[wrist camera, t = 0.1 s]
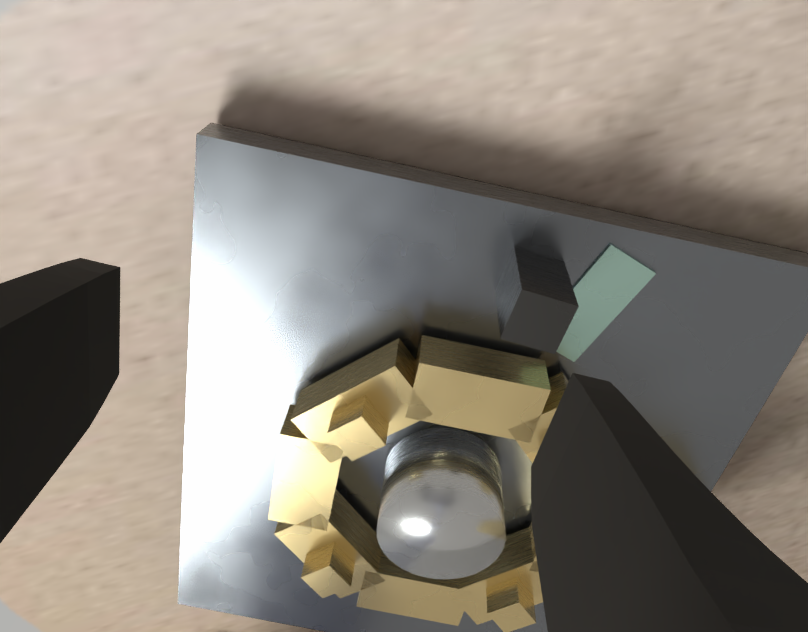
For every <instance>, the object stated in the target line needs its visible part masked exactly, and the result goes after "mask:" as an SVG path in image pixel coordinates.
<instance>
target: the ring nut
mask: <svg viewBox="0 0 808 632" xmlns="http://www.w3.org/2000/svg"><path fill="white" fill-rule="evenodd" d="M568 382H569V381H568V379H567V378H566V376H565V375H564V373H563V372H561V373H559V374H557V375H555V376H553V377H551V378H548V374H547V369H546V364H545V360H540V359H535V358H531V357H526V356H521V355H516V354H511V353H507V352H502V351H497V350H492V349H487V348H483V347H478V346H473V345H468V344H463V343H459V342H454V341H449V340H444V339H439V338H435V337H430V336H425V335H422V336H421V340H420V344H419V348H418V352H417V356H416V359H415V358H414V357H413V355H412V354H411V353H410V351H409V350H408V349H407V347H406V346H405V345H404V344H403V342H402V341H401V340H400V338H398V339H396V340H394V341H392V342H390V343H389V344H387V345H385V346H383V347H381V348H379V349H377V350H375V351H373V352H372V353H370V354H368V355H366V356H364V357H362V358H360V359H358V360H356V361H355V362H353V363H351V364H349V365H347V366H345V367H343V368H341V369H340V370H338V371H336V372H334V373H332V374H330V375H328V376H326V377H324V378H323V379H321V380H319V381H317V382H315V383H313V384H311V385H309V386H307V387H306V388H304V389H302V390H301V391H300V394H299V397H298V400H297V403H296V405H293V404H290V406H289V409H288V412H287V415H286V418H285V420H284V423H283V426H282V429H281V432H280V435H279V443H278V450H277V457H276V465H275V472H274V479H273V487H272V494H271V501H270V509H269V516H268V520H273V521H278V523H277V526H276V529H275V533H274V534H275V535H276V536H277V537H278V538H279V539H280V540H281V541H282V542H283V543H284V544H285V545H286V546H287V547H288V548H289V549H290V550H291V551H292V552H293V553H294V554H295V555H296V556H297V557H298V558H299V559H300V560H301V561H302V562H303V563H304V566H303V570H302V574H301V578H302V579H303V580H304V581H305V582H306V583H307V584H308V585H309V586H310V587H311V588H312V589H313V590H314V591H315V592H316V593H317V594H318V595H319V596H320V597H321V598H325V597H327V596H330V595H332V594H336V595H337V596H338V597H339V598H343V597H346V596H348V595H351V594H353V593H356V592H358V591H359V593H358V599H357V606H356V607H361V608H367V609H372V610H377V611H382V612H387V613H393V614H398V615H403V616H408V617H414V618H419V619H424V620H429V621H435V622H440V623H445V624H450V625H455V626H458V625H459V623H460V620H461V618H462V615H463V613H464V611H465V612H466V613H467V614H468V615H469V616H470V617H471V619H472V620H473V621H474V622H475V623H476V624H477V625H478V624H481V623H484V622H487V621H490V620H493V621H494V622H495V623H496V624H497V625H498V626H499V627H500V628H501V630H502V631H503V632H510V631H513V630H516V629H519V628H523V627H526V626H529V625H532V624H535V623H536V616H535V607H534V605H537V604H539V603H542V602H543V598H542V591H541V585H540V578H539V572H538V565H537V558H536V551H535V544H534V537H533V530H532V522H531V524H530V526H529V528H526V529H523V530H521V531H518V532H516V533H513V534H510V535H508V536H506V540H505V545H504V548H503V550H502V552H501V554H500V556H499V557H498V558H497V559H496V560H495V561H494V562H493V563H492V564H491V565H490V566H489V567H487V568H486V569H484V570H482V571H480V572H478V573H476V574H473V575H470V576H467V577H463V578H457V579H432V578H426V577H422V576H418V575H415V574H412V573H410V572H408V571H405V570H404V569H402V568H400V567H398V566H397V565H396V564H394V563H393V562H392V561H391V560H390V559H389V558H388V557H387V556H386V555H385V554H384V553H383V551H382V549H381V548H380V545H379V543H378V539H377V533H376V532H375V531H374V530H373V529H372V527H371V526H370V525H369V524H368V523H367V522H366V521H365V520H364V519H363V518H362V517H361V516H360V514H359V513H358V512H357V511H356V510H355V509H354V508H353V507H352V506H351V505H350V504H349V503H348V502H347V500H346V499H345V498H344V497H343V496H342V495H341V494H340V493H339V492H338V491H337V490H336V486H337V481H338V476H339V471H340V466H341V461H342V457H345V456H348V457H349V459H350V460H351V461H353V460H356V459H358V458H360V457H362V456H364V455H366V454H368V453H371V452H373V451H375V450H377V449H379V448H381V447H383V446H385V445H386V441H387V436H389V435H391V434H393V433H395V432H397V431H399V430H401V429H404V428H406V427H408V426H410V425H412V424H414V423H416V422H418V421H425V422H430V423H435V424H440V425H445V426H450V427H455V428H459V429H464V430H469V431H474V432H479V433H484V434H489V435H494V436H499V437H504V438H509V439H514V440H516V441H517V443H518V444H519V446H520V447H521V448H522V450H523V451H524V452H525V454H526V455H527V457H528V458H529V459H530V461H531V462H532V463H533V461H534V459H535V457H536V454H537V452H538V450H539V448H540V445H541V443H542V441H543V438H544V436H545V434H546V432H547V429H548V427H549V425H550V423H551V420H552V418H553V416H554V414H555V411H556V409H557V407H558V405H559V402H560V400H561V398H562V396H563V393H564V391H565V389H566V387H567V384H568Z"/></svg>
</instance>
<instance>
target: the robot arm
mask: <svg viewBox="0 0 808 632" xmlns="http://www.w3.org/2000/svg"><path fill="white" fill-rule="evenodd" d="M119 336H120V267H117V266H112V265H108V264H104V263H99V262H95V261H91V260H87V259H82V258H79V259H75V260H71V261H67V262H64V263H60V264H57V265H54V266H51V267H48V268H44V269H41V270H38V271H36V272H33V273H30V274H27V275H24V276H21V277H18V278H15V279H12V280H9V281H7V282H4V283H1V284H0V543H1V542H2V540H3V539H4V538H5V537H6V535H7V534H8V533H9V531H10V530H11V529H12V527H13V526H14V525H15V524H16V522H17V521H18V520H19V518H20V517H21V516H22V515H23V513H24V512H25V511H26V509H27V508H28V507H29V505H30V504H31V503H32V502H33V500H34V499H35V498H36V496H37V495H38V494H39V492H40V491H41V490H42V489H43V487H44V486H45V485H46V483H47V482H48V481H49V480H50V478H51V477H52V476H53V474H54V473H55V472H56V470H57V469H58V468H59V467H60V465H61V464H62V463H63V461H64V460H65V459H66V457H67V456H68V455H69V453H70V452H71V451H72V449H73V448H74V447H75V446H76V444H77V443H78V442H79V440H80V439H81V438H82V436H83V435H84V433H85V432H86V431H87V429H88V428H89V427H90V425H91V423H92V422H93V420H94V418H95V417H96V415H97V413H98V411H99V410H100V408H101V406H102V405H103V403H104V401H105V399H106V397H107V396H108V394H109V392H110V390H111V388H112V386H113V384H114V383H115V381H116V379H117V377H118V375H119ZM531 518H532V530H533V537H534V544H535V551H536V558H537V565H538V572H539V578H540V585H541V591H542V598H543V604H544V611H545V617H546V624H547V630H548V632H808V583H807V582H806V581H805V580H804V579H802V578H801V577H800V576H799V575H798V574H797V573H796V572H794V571H793V570H792V569H791V568H790V567H789V566H788V565H786V564H785V563H784V562H783V561H782V560H781V559H780V558H778V557H777V556H776V555H775V554H774V553H773V552H772V551H771V550H769V549H768V548H767V547H766V546H765V545H764V544H763V543H762V542H761V541H760V540H759V539H758V538H757V537H756V536H754V535H753V534H752V533H751V532H750V531H749V530H748V529H747V528H746V527H745V526H744V525H743V524H742V523H741V522H740V521H739V520H738V519H737V518H736V517H735V516H734V515H733V514H732V513H731V512H730V511H729V510H728V509H727V508H726V507H725V506H724V505H723V504H722V503H721V502H720V501H719V500H718V499H717V498H716V497H715V496H714V495H713V494H712V493H711V492H710V491H709V489H708V488H707V487H706V486H705V485H704V484H703V483H702V482H701V481H700V480H699V479H698V478H697V477H696V476H695V475H694V473H693V472H692V471H691V470H690V469H689V468H688V467H687V466H686V465H685V464H684V463H683V461H682V460H681V459H680V458H679V457H678V456H677V455H676V454H675V453H674V451H673V450H672V449H671V448H670V447H669V446H668V445H667V444H666V442H665V441H664V440H663V439H662V438H661V437H660V436H659V435H658V433H657V432H656V431H655V430H654V429H653V428H652V427H651V425H650V424H649V423H648V422H647V421H646V420H645V419H644V418H643V416H642V415H641V414H640V413H639V412H638V411H637V410H636V409H635V407H634V406H633V405H632V404H631V403H630V402H629V401H628V400H627V399H626V397H625V396H624V395H623V394H622V393H621V392H620V391H619V390H618V389H617V388H616V387H615V386H614V385H613V384H612V383H611V382H610V381H606V380H601V379H597V378H593V377H588V376H584V375H580V374H576V373H572V375H571V377H570V380H569V382H568V384H567V387H566V389H565V391H564V393H563V396H562V398H561V400H560V402H559V405H558V407H557V409H556V411H555V414H554V416H553V418H552V420H551V423H550V425H549V427H548V429H547V432H546V434H545V436H544V438H543V441H542V443H541V445H540V448H539V450H538V452H537V454H536V457H535V459H534V461H533V463H532V466H531Z"/></svg>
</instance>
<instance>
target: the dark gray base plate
mask: <svg viewBox="0 0 808 632" xmlns="http://www.w3.org/2000/svg"><path fill="white" fill-rule="evenodd" d="M807 333H808V253H804V252H800V251H795V250H790V249H786V248H781V247H777V246H772V245H768V244H763V243H758V242H754V241H749V240H745V239H740V238H736V237H731V236H726V235H722V234H717V233H713V232H708V231H704V230H699V229H694V228H690V227H685V226H681V225H676V224H672V223H667V222H662V221H658V220H653V219H649V218H644V217H640V216H635V215H630V214H626V213H621V212H617V211H612V210H608V209H603V208H598V207H594V206H589V205H585V204H580V203H576V202H571V201H566V200H562V199H557V198H553V197H548V196H544V195H539V194H534V193H530V192H525V191H521V190H516V189H512V188H507V187H502V186H498V185H493V184H489V183H484V182H480V181H475V180H470V179H466V178H461V177H457V176H452V175H448V174H443V173H438V172H434V171H429V170H425V169H420V168H416V167H411V166H406V165H402V164H397V163H393V162H388V161H384V160H379V159H374V158H370V157H365V156H361V155H356V154H352V153H347V152H342V151H338V150H333V149H329V148H324V147H320V146H315V145H310V144H306V143H301V142H297V141H292V140H288V139H283V138H278V137H274V136H269V135H265V134H260V133H256V132H251V131H246V130H242V129H237V128H233V127H228V126H224V125H219V124H214V123H210V124H209V125H208V126H206V127H205V128H204V129H202V130H201V131H200V132H199V133H197V136H196V161H195V186H194V211H193V236H192V261H191V286H190V311H189V336H188V361H187V386H186V411H185V436H184V461H183V486H182V510H181V535H180V560H179V585H178V604H182V605H187V606H193V607H198V608H203V609H208V610H214V611H219V612H224V613H230V614H235V615H240V616H245V617H251V618H256V619H261V620H267V621H272V622H277V623H282V624H288V625H293V626H298V627H304V628H309V629H314V630H319V631H325V632H503V631H502V630H501V628H500V627H499V626H498V625H497V624H496V623H495V622H494V621H493V620H490V621H487V622H484V623H481V624H478V625H477V624H476V623H475V622H474V621H473V620H472V619H471V617H470V616H469V615H468V614H467V613H466V612H465V611H464V613H463V615H462V618H461V620H460V623H459V625H458V626H455V625H450V624H445V623H440V622H435V621H429V620H424V619H419V618H414V617H408V616H403V615H398V614H393V613H387V612H382V611H377V610H372V609H367V608H361V607H356V606H357V599H358V593H359V591H358V592H356V593H353V594H351V595H348V596H346V597H343V598H339V597H338V596H337V595H336V594H332V595H330V596H327V597H325V598H321V597H320V596H319V595H318V594H317V593H316V592H315V591H314V590H313V589H312V588H311V587H310V586H309V585H308V584H307V583H306V582H305V581H304V580H303V579H302V578H301V574H302V570H303V566H304V563H303V562H302V561H301V560H300V559H299V558H298V557H297V556H296V555H295V554H294V553H293V552H292V551H291V550H290V549H289V548H288V547H287V546H286V545H285V544H284V543H283V542H282V541H281V540H280V539H279V538H278V537H277V536H276V535H275V534H274V533H275V529H276V526H277V523H278V521H273V520H268V516H269V509H270V501H271V494H272V487H273V479H274V472H275V465H276V457H277V450H278V443H279V435H280V432H281V429H282V426H283V423H284V420H285V418H286V415H287V412H288V409H289V406H290V404H293V405H296V403H297V400H298V397H299V394H300V391H301V390H302V389H304V388H306V387H307V386H309V385H311V384H313V383H315V382H317V381H319V380H321V379H323V378H324V377H326V376H328V375H330V374H332V373H334V372H336V371H338V370H340V369H341V368H343V367H345V366H347V365H349V364H351V363H353V362H355V361H356V360H358V359H360V358H362V357H364V356H366V355H368V354H370V353H372V352H373V351H375V350H377V349H379V348H381V347H383V346H385V345H387V344H389V343H390V342H392V341H394V340H396V339H398V338H400V340H401V341H402V342H403V344H404V345H405V346H406V347H407V349H408V350H409V351H410V353H411V354H412V355H413V357H414V358H415V359H416V356H417V352H418V348H419V344H420V340H421V336H422V335H425V336H430V337H435V338H439V339H444V340H449V341H454V342H459V343H463V344H468V345H473V346H478V347H483V348H487V349H492V350H497V351H502V352H507V353H511V354H516V355H521V356H526V357H531V358H535V359H540V360H545V364H546V369H547V374H548V378H551V377H553V376H555V375H557V374H559V373H561V372H563V373H564V375H565V376H566V378H567V379H568V381H569V380H570V377H571V375H572V373H576V374H580V375H584V376H588V377H593V378H597V379H601V380H606V381H610V382H611V383H612V384H613V385H614V386H615V387H616V388H617V389H618V390H619V391H620V392H621V393H622V394H623V395H624V396H625V397H626V399H627V400H628V401H629V402H630V403H631V404H632V405H633V406H634V407H635V409H636V410H637V411H638V412H639V413H640V414H641V415H642V416H643V418H644V419H645V420H646V421H647V422H648V423H649V424H650V425H651V427H652V428H653V429H654V430H655V431H656V432H657V433H658V435H659V436H660V437H661V438H662V439H663V440H664V441H665V442H666V444H667V445H668V446H669V447H670V448H671V449H672V450H673V451H674V453H675V454H676V455H677V456H678V457H679V458H680V459H681V460H682V461H683V463H684V464H685V465H686V466H687V467H688V468H689V469H690V470H691V471H692V472H693V473H694V475H695V476H696V477H697V478H698V479H699V480H700V481H701V482H702V483H703V484H704V485H705V486H706V487H707V488H708V489H709V491H710V492H711V491H712V489H713V487H714V486H715V484H716V482H717V481H718V479H719V478H720V476H721V474H722V473H723V471H724V469H725V468H726V466H727V464H728V463H729V461H730V459H731V458H732V456H733V454H734V453H735V451H736V450H737V448H738V446H739V445H740V443H741V441H742V440H743V438H744V436H745V435H746V433H747V431H748V430H749V428H750V426H751V425H752V423H753V422H754V420H755V418H756V417H757V415H758V413H759V412H760V410H761V408H762V407H763V405H764V403H765V402H766V400H767V398H768V397H769V395H770V394H771V392H772V390H773V389H774V387H775V385H776V384H777V382H778V380H779V379H780V377H781V375H782V374H783V372H784V370H785V369H786V367H787V366H788V364H789V362H790V361H791V359H792V357H793V356H794V354H795V352H796V351H797V349H798V347H799V346H800V344H801V342H802V341H803V339H804V338H805V336H806V334H807ZM531 466H532V462H531V461H530V459H529V458H528V457H527V455H526V454H525V452H524V451H523V450H522V448H521V447H520V446H519V444H518V443H517V441H516V440H514V439H509V438H504V437H499V436H494V435H489V434H484V433H479V432H474V431H469V430H464V429H459V428H455V427H450V426H445V425H440V424H435V423H430V422H425V421H418V422H416V423H414V424H412V425H410V426H408V427H406V428H404V429H401V430H399V431H397V432H395V433H393V434H391V435H389V436H387V441H386V445H385V446H383V447H381V448H379V449H377V450H375V451H373V452H371V453H368V454H366V455H364V456H362V457H360V458H358V459H356V460H353V461H351V460H350V459H349V457H348V456H345V457H342V461H341V466H340V471H339V476H338V481H337V486H336V490H337V491H338V492H339V493H340V494H341V495H342V496H343V497H344V498H345V499H346V500H347V502H348V503H349V504H350V505H351V506H352V507H353V508H354V509H355V510H356V511H357V512H358V513H359V514H360V516H361V517H362V518H363V519H364V520H365V521H366V522H367V523H368V524H369V525H370V526H371V527H372V529H373V530H374V531H375V532H376V533H377V539H378V543H379V545H380V548H381V549H382V551H383V553H384V554H385V555H386V556H387V557H388V558H389V559H390V560H391V561H392V562H393V563H394V564H396V565H397V566H398V567H400V568H402V569H404V570H405V571H408V572H410V573H412V574H415V575H418V576H422V577H426V578H432V579H457V578H463V577H467V576H470V575H473V574H476V573H478V572H480V571H482V570H484V569H486V568H487V567H489V566H490V565H491V564H492V563H493V562H494V561H495V560H496V559H497V558H498V557H499V556H500V554H501V552H502V550H503V548H504V545H505V540H506V536H508V535H510V534H513V533H516V532H518V531H521V530H523V529H526V528H529V526H530V524H531V522H532V518H531ZM534 607H535V616H536V623H535V624H532V625H529V626H526V627H523V628H519V629H516V630H513V631H510V632H548V630H547V624H546V617H545V611H544V604H543V602H542V603H539V604H537V605H534Z"/></svg>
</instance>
